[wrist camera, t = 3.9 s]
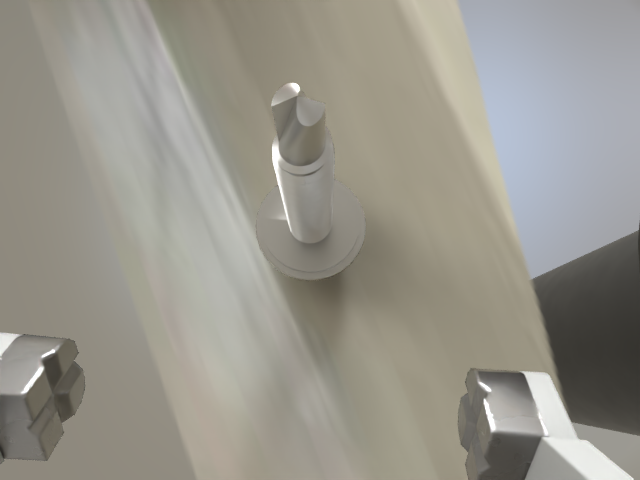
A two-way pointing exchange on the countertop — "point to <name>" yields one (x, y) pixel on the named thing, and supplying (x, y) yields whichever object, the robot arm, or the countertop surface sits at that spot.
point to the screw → (307, 196)
